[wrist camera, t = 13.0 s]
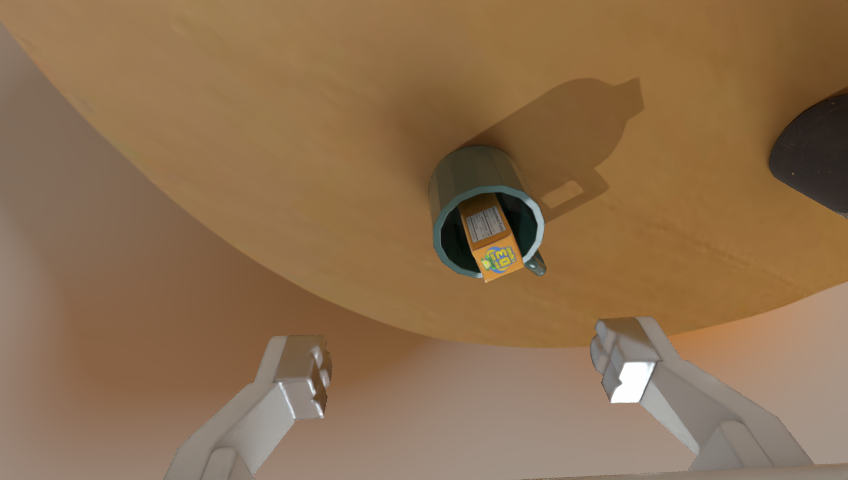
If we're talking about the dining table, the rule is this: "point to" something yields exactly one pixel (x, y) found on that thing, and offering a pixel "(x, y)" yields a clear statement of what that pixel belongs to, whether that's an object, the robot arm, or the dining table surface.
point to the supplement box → (489, 236)
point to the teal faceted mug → (468, 178)
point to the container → (816, 154)
